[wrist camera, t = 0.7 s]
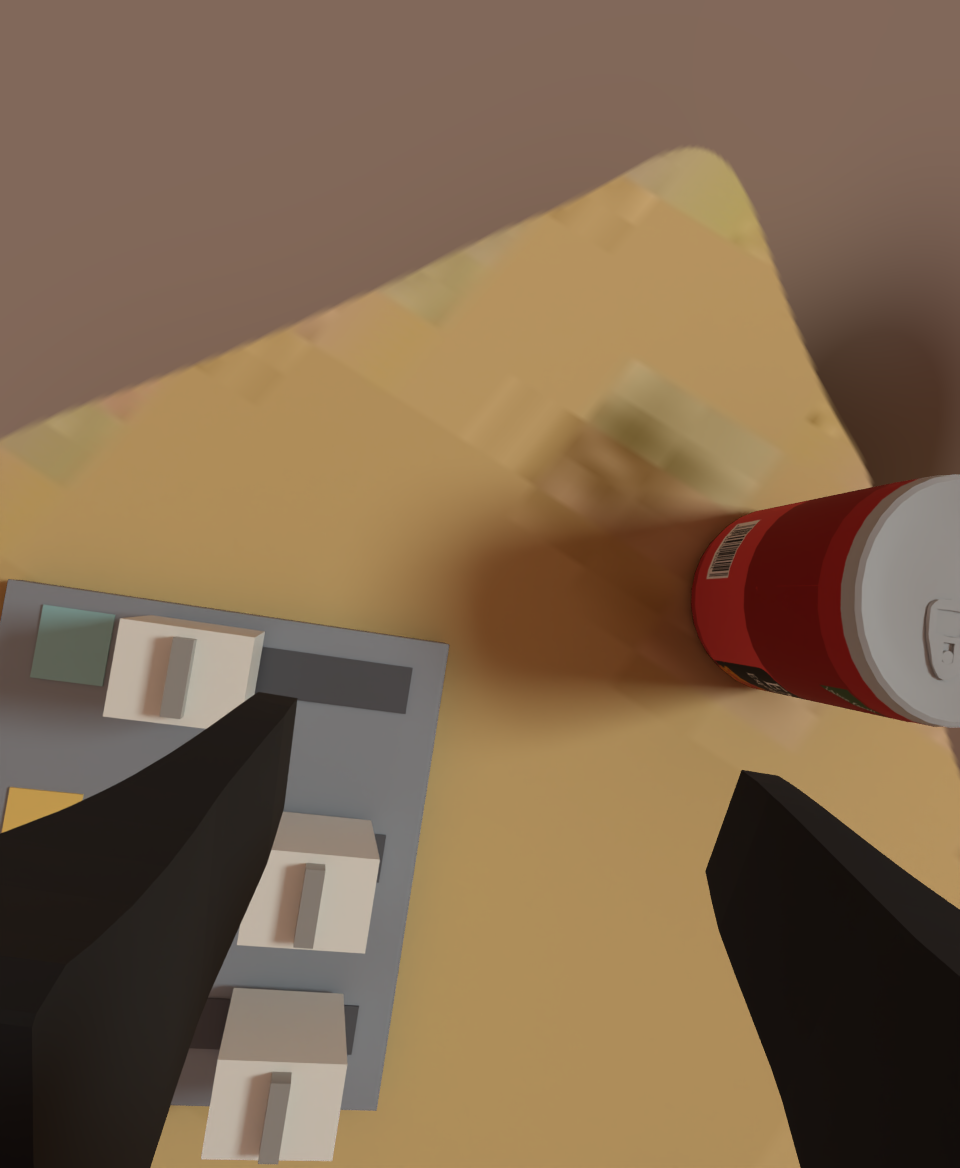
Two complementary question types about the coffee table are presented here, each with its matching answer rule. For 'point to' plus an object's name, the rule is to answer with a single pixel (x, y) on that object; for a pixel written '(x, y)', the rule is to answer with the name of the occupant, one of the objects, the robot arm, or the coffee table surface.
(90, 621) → the switch panel
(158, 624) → the slider
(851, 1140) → the robot arm
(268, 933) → the slider
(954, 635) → the canned food
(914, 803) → the coffee table surface
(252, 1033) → the slider
